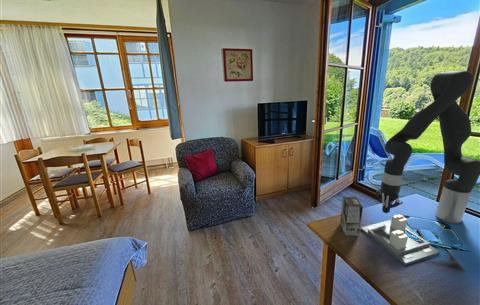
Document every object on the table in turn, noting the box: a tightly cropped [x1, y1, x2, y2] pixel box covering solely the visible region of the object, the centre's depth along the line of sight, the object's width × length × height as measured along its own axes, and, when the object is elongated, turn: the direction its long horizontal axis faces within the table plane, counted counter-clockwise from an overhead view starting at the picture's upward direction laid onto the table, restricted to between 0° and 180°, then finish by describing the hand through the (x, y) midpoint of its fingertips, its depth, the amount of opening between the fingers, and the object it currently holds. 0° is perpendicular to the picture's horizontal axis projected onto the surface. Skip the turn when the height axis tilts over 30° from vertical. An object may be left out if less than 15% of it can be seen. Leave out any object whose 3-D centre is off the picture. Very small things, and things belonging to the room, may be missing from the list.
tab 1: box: [390, 214, 409, 232], centre depth 95 cm, size 4×4×8 cm
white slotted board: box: [360, 219, 441, 266], centre depth 91 cm, size 18×22×3 cm
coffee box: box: [339, 196, 364, 237], centre depth 98 cm, size 9×6×16 cm
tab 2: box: [389, 230, 408, 250], centre depth 85 cm, size 4×4×8 cm
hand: (385, 212), depth 101 cm, fingers closed
